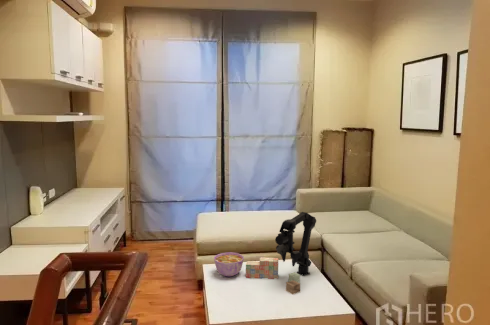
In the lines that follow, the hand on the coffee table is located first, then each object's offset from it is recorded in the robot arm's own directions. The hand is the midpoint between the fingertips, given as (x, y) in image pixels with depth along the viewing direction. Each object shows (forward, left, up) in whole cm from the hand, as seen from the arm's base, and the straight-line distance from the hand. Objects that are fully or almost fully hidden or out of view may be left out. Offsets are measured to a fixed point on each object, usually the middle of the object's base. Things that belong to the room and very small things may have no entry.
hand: (288, 263), depth 242 cm
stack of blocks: (+9, -16, -13) cm, 22 cm away
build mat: (+8, +12, -12) cm, 18 cm away
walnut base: (+7, +12, -12) cm, 18 cm away
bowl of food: (+25, -32, -12) cm, 42 cm away
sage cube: (-3, +2, -12) cm, 13 cm away
